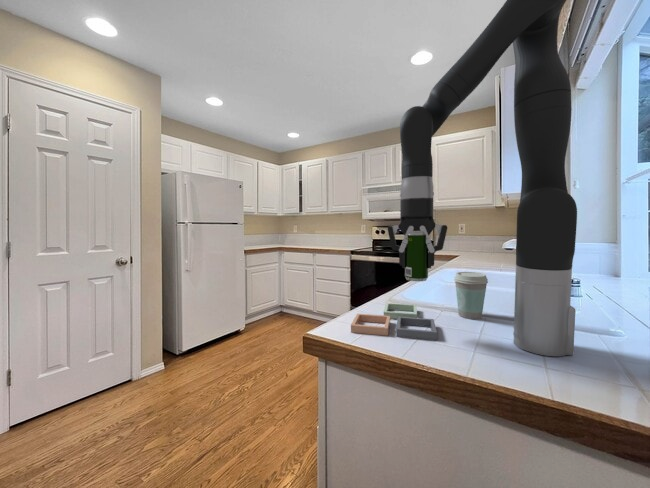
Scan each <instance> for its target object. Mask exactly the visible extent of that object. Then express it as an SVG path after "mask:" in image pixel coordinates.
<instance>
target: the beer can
mask: <svg viewBox="0 0 650 488" xmlns="http://www.w3.org/2000/svg"><path fill="white" fill-rule="evenodd" d="M407 236H408V243H407V244H406V247H405V250H404V252H405V268H404V277H405V279H406V281H409V282H410V281H411V282H425V281H427V280H428V277H429V268H428V252H429V250H428V247H427V244H426V239H427V238H426V234H425V233H424V232H423V231H410V233H409V234H408V235H407ZM406 239H407V238H406Z"/></svg>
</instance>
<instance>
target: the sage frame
mask: <svg viewBox="0 0 650 488" xmlns="http://www.w3.org/2000/svg"><path fill="white" fill-rule="evenodd" d="M389 310H390V311H389ZM393 310H394V311H393ZM402 311H405V312H402ZM406 311H408V312H406ZM383 316H390V320H392V319H393V320H397V319H398V317H411V318H418V310H417V304H409V303H394V302H393V303H392V302H385V306H384V309H383Z"/></svg>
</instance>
